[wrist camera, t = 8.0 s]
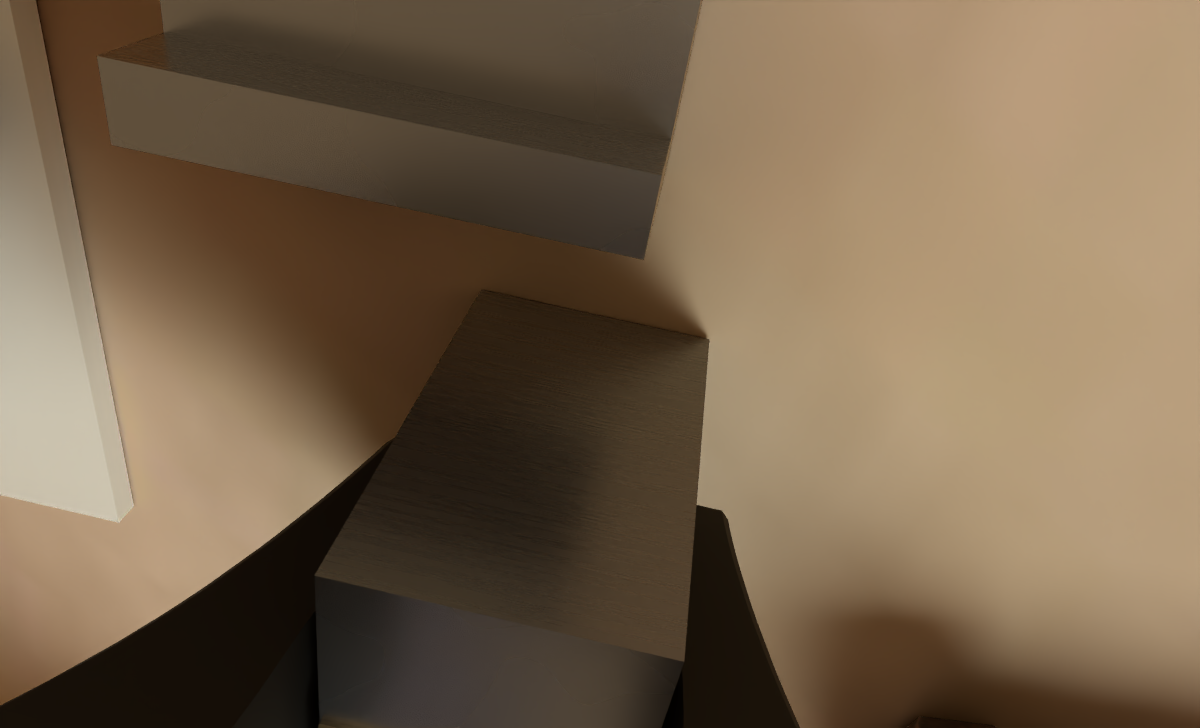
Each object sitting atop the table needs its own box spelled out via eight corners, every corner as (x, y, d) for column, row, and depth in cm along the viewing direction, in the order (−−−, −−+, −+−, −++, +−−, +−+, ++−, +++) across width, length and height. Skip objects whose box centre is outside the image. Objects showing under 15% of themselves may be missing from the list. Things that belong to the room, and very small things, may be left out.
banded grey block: (636, 601, 14) (584, 957, 9) (455, 559, 14) (320, 892, 9) (709, 339, 11) (683, 674, 6) (481, 289, 11) (307, 587, 7)
